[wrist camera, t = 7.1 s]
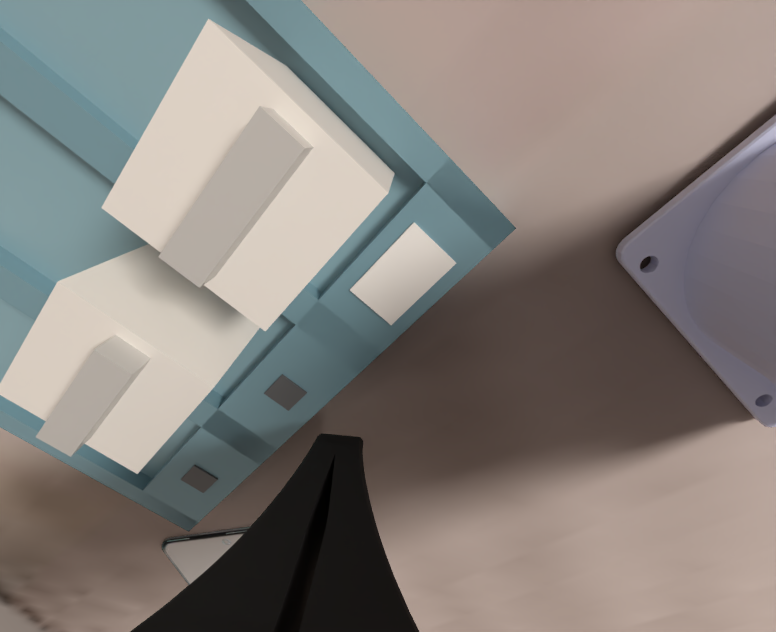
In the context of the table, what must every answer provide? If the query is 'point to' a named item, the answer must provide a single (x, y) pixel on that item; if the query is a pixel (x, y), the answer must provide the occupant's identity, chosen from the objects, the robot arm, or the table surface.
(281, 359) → the switch board
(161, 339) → the tab
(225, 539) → the smartphone
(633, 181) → the table surface
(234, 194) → the tab
